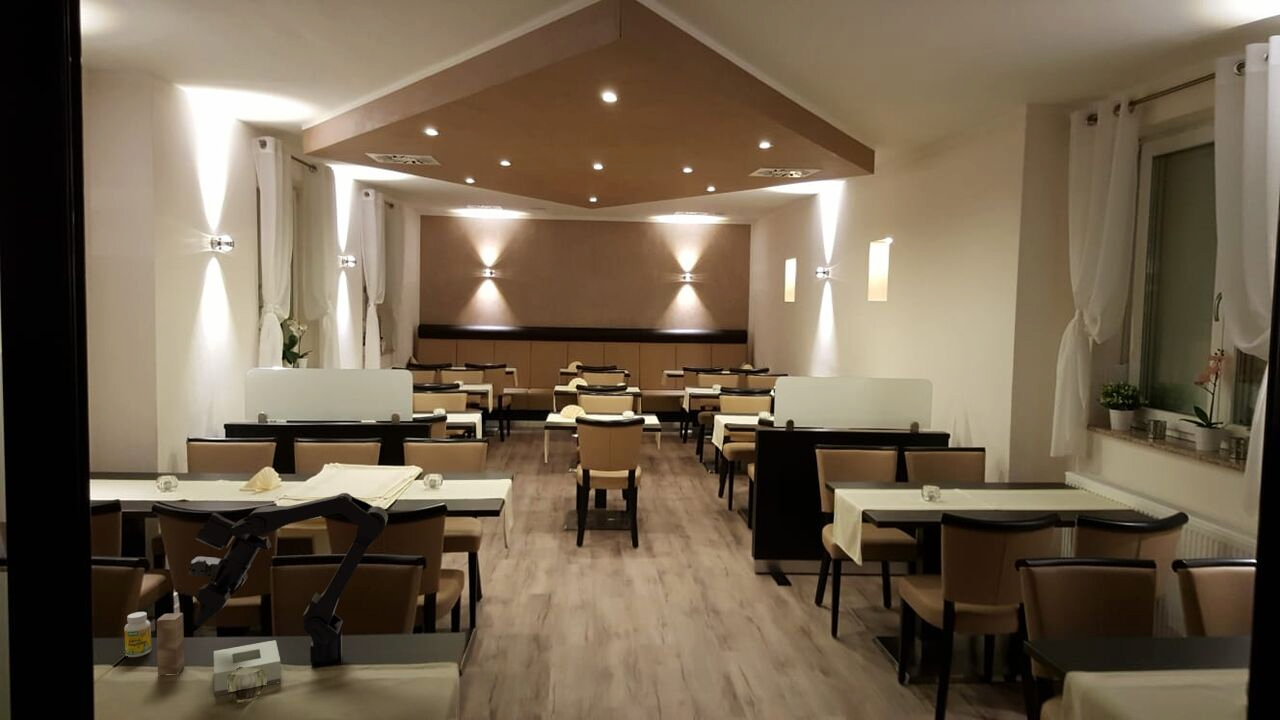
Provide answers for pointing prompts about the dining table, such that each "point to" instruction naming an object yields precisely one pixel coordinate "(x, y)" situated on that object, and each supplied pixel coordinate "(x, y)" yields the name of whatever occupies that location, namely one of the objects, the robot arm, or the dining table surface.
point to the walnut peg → (170, 643)
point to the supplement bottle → (137, 635)
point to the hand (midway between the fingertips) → (203, 618)
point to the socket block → (246, 663)
